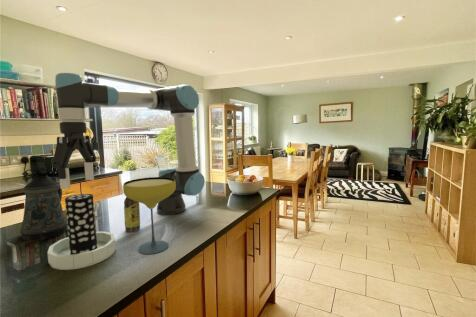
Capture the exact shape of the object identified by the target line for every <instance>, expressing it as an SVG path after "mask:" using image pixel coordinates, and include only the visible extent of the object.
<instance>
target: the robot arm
mask: <svg viewBox="0 0 476 317" xmlns="http://www.w3.org/2000/svg"><path fill="white" fill-rule="evenodd" d="M54 80H55V81H54V83H55V91H56V99H57V100H56V101H57V109H58V119H59V121H61V122H59V131H60V132H59V133H61V134H63V136H57V137H56V146H55V150H54V155H53V160H52V164H51V167H52V168H54V170H56V169H57V172H58V178H59V185H60V188H61V189H62V190H69V189H71V178H70V170H69V169H70V168H69V167H68V165H69V162H70V160H71V158H72V157H71V156H72V154H73V152H75V151H76V150H77V151H78V152H79V153H80V155H81V157H82V158H83V159H84V162H83V164H84V175H85V176H84V177H85V181H94V180H95V174H94V163H96V162H97V156H96V153H95V151H94V148H93V146H92V142H91V138H90V136H89V135H84V134H86V133H87V123H86V122H85V121H86V120H87V119H86V110H85V108H87V109H88V108H89V109H90V108H96V109H97V108H147V109H148V110H151V111H152V110H154V111H155V110H156V111H157V110H158V111H167V112H168V111H169V113H170V116H171V117H173V121H174V122H173V123H174V131H175V133H174V134H175V142H176V143H175V144H176V154H177V167H170V168H164V169H160V170H159V171H158V177H167V178H173V179H174V180H175V182H176V189H175V191H174V192H173V193H172V194H171V195H170V196H169V197H167V198H165V199H163V200H162V201H160V202H159V203H157V205H156V212H157V214H160V215H176V214H179V213H183V212H185V211H186V203H185V201H184V198H183V195H185V196H188V197H189V196H192V197H194V196H197V195H199V194H200V193H201V192H202V190H203V189H204V187H205V183H206V182H205V176H204V175H203V174H202V173H201V172H200V168H199V166H198V165H197V164H196V152H195V139H194V127H193V116H194V115H195V114H196V112H195V110H196V108H198V105H200V104H199V103H200V98H199V94H198V92H197V91H196V89H195V88H194V87H193V86H192V85H189V84H179V85H173V86H167V87H163V88H161V87H160V88H156V89H148V90H130V89H129V90H127V89H118V88H117V87H115V86H113V85H111V84H110V85H108V84H102V83H101V84H100V83H93V82H86V81H83V76H81V75H80V74H77V73H73V72H72V73H71V72H60V73H57V74H56V75H55V79H54Z"/></svg>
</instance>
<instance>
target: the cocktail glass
mask: <svg viewBox="0 0 476 317" xmlns="http://www.w3.org/2000/svg"><path fill="white" fill-rule="evenodd" d="M175 189H176V182H175V180H174V179H173V178H167V177H159V176H155V177H154V176H152V177H141V178H137V179H132V180H128V181H125V182H124V183H123V185H122V190H123V194H124V196H125V198H126V197H128V198H129V199H131V200H134V201H137V202H139V204H143V205H145V206H146V208H148V210H150V217H151V218H150V219H151V220H150V221H151V241H148V242H144V243H142V244H141V245H140V246H139V247H138V248H137V250H138V252H139V253H140V254H142V255H155V254H159V253H162V252H164V251H166V250H168V248H169V246H170V245H169V243H168V242H167V241H166V240H165V241H164V240H156V238H155V229H154V228H155V227H154V212H153V209H155V208H156V207H157V205H158V203H159V202H160V201H162V200H163V199H165V198H167V197H169V196H170V195H171V194H172V193H173V192H174V191H175Z"/></svg>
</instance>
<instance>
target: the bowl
mask: <svg viewBox="0 0 476 317" xmlns="http://www.w3.org/2000/svg"><path fill="white" fill-rule="evenodd" d="M96 237H97V249H95V250H92V251H88V252H84V253H79V254H74V255H70V247H69V236H67V237H65V238H62V239H59V240H57V241H56V242H54V243H53V244H51V245H50V246H49V247H48V250H47V253H46V254H47V261H48V264H49V266H50V267H51V268H52V269H54V270H58V271H59V270H60V271H71V270H78V269H83V268H87V267H91V266H93V265H97V264H98V263H102V262H103V261H105V260H107V259H108V258H110V257H111V256H113V255H114V254H115V251H116V248H117V247H116V246H117V244H116V237H115V233H112V232H108V231H96Z"/></svg>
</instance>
